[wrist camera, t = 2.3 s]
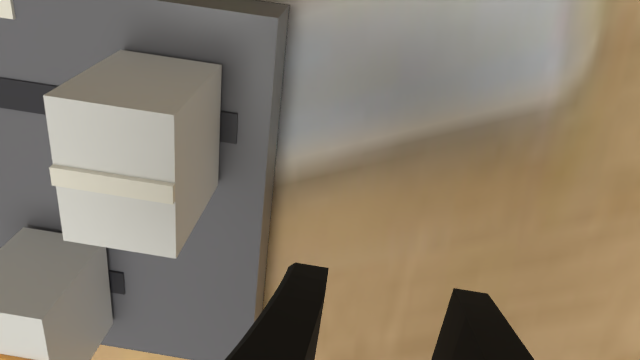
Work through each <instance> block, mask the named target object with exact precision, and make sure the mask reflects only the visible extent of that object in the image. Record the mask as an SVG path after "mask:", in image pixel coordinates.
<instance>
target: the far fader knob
mask: <svg viewBox="0 0 640 360" xmlns="http://www.w3.org/2000/svg"><path fill="white" fill-rule="evenodd" d="M112 325H113V317H112V307H111V296H110V285H109V275H108V264H107V253H106V247H101V246H94V245H88V244H82V243H76V242H70V241H64V240H63V234H62V233H56V232H50V231H44V230H38V229H31V228H25V227H23V228H22V229H21V230H20V231H19V232H18V233H17V234H15V235H14V236H13V237H12V238H11V239H10V240H9V241H8V242H7V243H6V244H5V245H4V246H2V247H1V248H0V360H91V358H92V356H93V355H94V353H95V352H96V350H97V348H98V347H99V345H100V344H101V342H102V341H103V339H104V337H105V336H106V334H107V333H108V331H109V329H110V328H111V326H112Z"/></svg>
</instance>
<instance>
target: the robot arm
mask: <svg viewBox="0 0 640 360" xmlns="http://www.w3.org/2000/svg"><path fill="white" fill-rule="evenodd" d="M327 276H328V268H325V267H319V266H312V265H306V264H300V263H294V264H293V265H291V266H289V267H288V269H287V272H286V274H285V276H284V278H283V280H282V281H281V283H280V285H279V287H278V288H277V290H276V292H275V293H274V295H273V296H272V298H271V299H270V301H269V302H268V304H267V305H266V307H265V308H264V310H263V311H262V313H261V314H260V315H259V317H258V318H257V319H256V321H255V322H254V323H253V325H252V326H251V327H250V329H249V330H248V331H247V333H246V334H245V335H244V337H243V338H242V339H241V341H240V342H239V343H238V344H237V346H236V347H235V348H234V349H233V350H232V352H231V353H230V354H229V355H228V356H227V357H226V359H225V360H314V359H315V353H316V347H317V340H318V334H319V328H320V322H321V316H322V309H323V303H324V297H325V290H326V283H327ZM432 360H534V359H533V357H532V356H531V354H530V353H529V352H528V350H527V349H526V347H525V346H524V344H523V343H522V342H521V340H520V339H519V337H518V336H517V335H516V333H515V332H514V330H513V329H512V327H511V326H510V325H509V323H508V322H507V320H506V319H505V317H504V316H503V315H502V313H501V312H500V310H499V309H498V307H497V306H496V305H495V303H494V302H493V300H492V299H491V297H490V296H489V295H488V294H486V293H480V292H474V291H468V290H461V289H455V288H454V289H453V292H452V296H451V299H450V302H449V305H448V308H447V312H446V315H445V318H444V321H443V324H442V328H441V331H440V334H439V337H438V340H437V344H436V347H435V350H434V353H433V356H432Z"/></svg>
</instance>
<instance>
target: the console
mask: <svg viewBox="0 0 640 360" xmlns="http://www.w3.org/2000/svg"><path fill="white" fill-rule="evenodd" d="M288 16H289V5H285V4H278V3H272V2H265V1H258V0H0V248H1V247H2V246H4V245H5V244H6V243H7V242H8V241H9V240H10V239H11V238H12V237H13V236H14V235H15V234H17V233H18V232H19V231H20V230H21V229H22V228H23V227H25V228H31V229H38V230H44V231H50V232H56V233H62V226H61V219H60V212H59V205H58V198H57V191H56V186H52V184H51V177H50V170H49V167H50V166H51V165H52V164H53V162H52V155H51V148H50V141H49V134H48V127H47V120H46V113H45V105H44V98H43V95H44V94H46V93H48V92H50V91H51V90H53V89H55V88H56V87H58V86H60V85H61V84H63V83H65V82H67V81H68V80H70V79H72V78H73V77H75V76H77V75H78V74H80V73H82V72H84V71H85V70H87V69H89V68H90V67H92V66H94V65H95V64H97V63H99V62H101V61H102V60H104V59H106V58H107V57H109V56H111V55H112V54H114V53H116V52H117V51H119V50H125V51H132V52H139V53H145V54H152V55H159V56H165V57H172V58H179V59H186V60H192V61H199V62H206V63H212V64H219V65H222V74H221V107H220V140H219V173H218V186H217V188H216V189H215V191H214V193H213V195H212V196H211V198H210V200H209V202H208V203H207V205H206V207H205V209H204V211H203V212H202V214H201V216H200V218H199V219H198V221H197V223H196V225H195V226H194V228H193V230H192V232H191V233H190V235H189V237H188V239H187V240H186V242H185V244H184V246H183V248H182V249H181V251H180V253H179V255H178V256H177V258H176V259H175V258H168V257H162V256H156V255H150V254H144V253H138V252H131V251H125V250H119V249H113V248H107V247H106V253H107V264H108V275H109V285H110V296H111V307H112V317H113V325H112V326H111V328H110V329H109V331H108V333H107V334H106V336H105V337H104V339H103V341H102V342H101V345H107V346H113V347H119V348H125V349H131V350H137V351H143V352H149V353H155V354H161V355H166V356H172V357H178V358H184V359H190V360H225V359H226V357H227V356H228V355H229V354H230V353H231V352H232V350H233V349H234V348H235V347H236V346H237V344H238V343H239V342H240V341H241V339H242V338H243V337H244V335H245V334H246V333H247V331H248V330H249V329H250V327H251V326H252V325H253V323H254V322H255V321H256V319H257V318H258V317H259V315H260V314H261V313H262V309H263V298H264V286H265V275H266V264H267V253H268V241H269V230H270V219H271V207H272V196H273V185H274V174H275V162H276V151H277V140H278V129H279V117H280V106H281V95H282V83H283V72H284V61H285V50H286V38H287V27H288Z"/></svg>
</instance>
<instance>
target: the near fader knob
mask: <svg viewBox="0 0 640 360" xmlns="http://www.w3.org/2000/svg"><path fill="white" fill-rule="evenodd" d="M221 74H222V65H219V64H212V63H206V62H199V61H192V60H186V59H179V58H172V57H165V56H159V55H152V54H145V53H139V52H132V51H125V50H119V51H117V52H116V53H114V54H112V55H111V56H109V57H107V58H106V59H104V60H102V61H101V62H99V63H97V64H95V65H94V66H92V67H90V68H89V69H87V70H85V71H84V72H82V73H80V74H78V75H77V76H75V77H73V78H72V79H70V80H68V81H67V82H65V83H63V84H61V85H60V86H58V87H56V88H55V89H53V90H51V91H50V92H48V93H46V94H44V95H43V98H44V105H45V113H46V120H47V127H48V134H49V141H50V148H51V155H52V162H53V164H52V165H51V166H50V167H49V170H50V177H51V184H52V186H56V191H57V198H58V205H59V212H60V219H61V226H62V234H63V240H64V241H70V242H76V243H82V244H88V245H94V246H101V247H107V248H113V249H119V250H125V251H131V252H138V253H144V254H150V255H156V256H162V257H168V258H175V259H176V258H177V256H178V255H179V253H180V251H181V249H182V248H183V246H184V244H185V242H186V240H187V239H188V237H189V235H190V233H191V232H192V230H193V228H194V226H195V225H196V223H197V221H198V219H199V218H200V216H201V214H202V212H203V211H204V209H205V207H206V205H207V203H208V202H209V200H210V198H211V196H212V195H213V193H214V191H215V189H216V188H217V186H218V173H219V140H220V107H221Z"/></svg>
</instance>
